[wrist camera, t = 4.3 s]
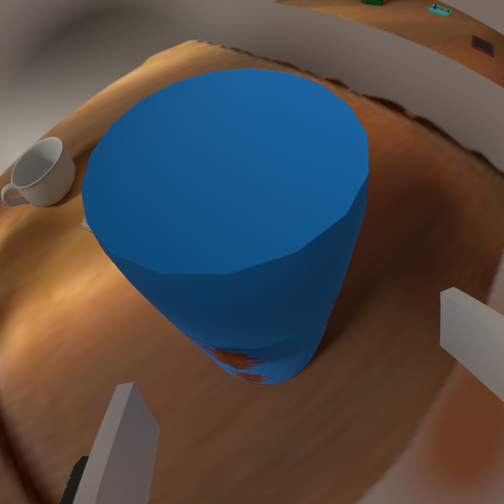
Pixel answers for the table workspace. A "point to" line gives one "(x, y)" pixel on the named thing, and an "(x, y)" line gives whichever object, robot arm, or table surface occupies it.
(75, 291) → the table surface
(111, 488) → the robot arm
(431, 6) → the handheld gaming console
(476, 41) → the cell phone
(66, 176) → the teacup
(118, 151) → the thermos
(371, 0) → the milk carton
